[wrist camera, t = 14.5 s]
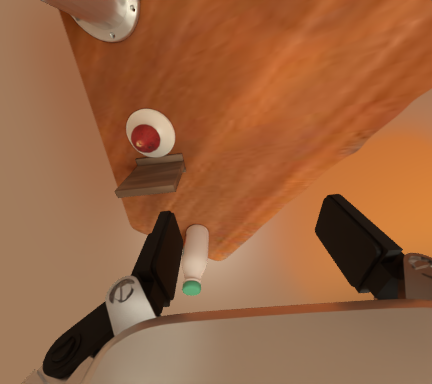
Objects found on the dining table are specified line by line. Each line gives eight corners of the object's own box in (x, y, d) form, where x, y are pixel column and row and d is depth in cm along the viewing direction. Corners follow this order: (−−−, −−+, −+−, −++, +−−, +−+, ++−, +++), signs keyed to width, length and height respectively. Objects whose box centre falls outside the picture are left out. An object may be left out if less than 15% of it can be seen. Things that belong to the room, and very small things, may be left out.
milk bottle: (190, 220, 56) (181, 280, 39) (212, 227, 57) (211, 287, 41) (183, 235, 59) (172, 295, 43) (203, 241, 61) (200, 301, 44)
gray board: (136, 158, 43) (110, 184, 32) (182, 153, 43) (171, 177, 32) (143, 175, 46) (121, 204, 35) (186, 170, 45) (177, 198, 35)
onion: (168, 133, 39) (159, 144, 32) (155, 151, 41) (144, 164, 35) (146, 115, 37) (131, 122, 30) (134, 135, 39) (117, 146, 32)
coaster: (120, 111, 37) (117, 112, 36) (168, 105, 37) (167, 106, 36) (138, 158, 43) (136, 159, 42) (180, 153, 43) (179, 154, 42)
